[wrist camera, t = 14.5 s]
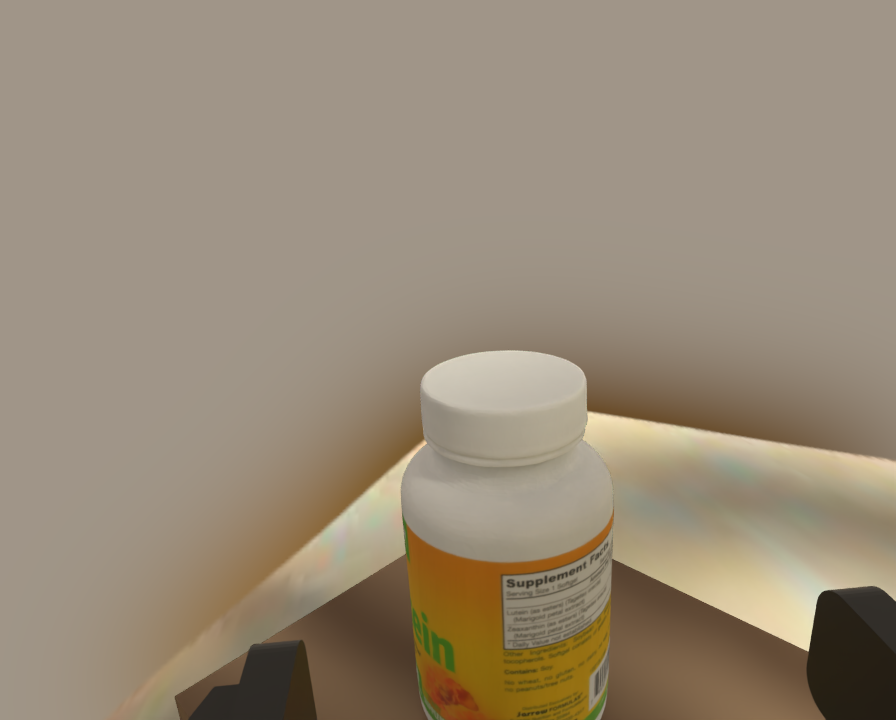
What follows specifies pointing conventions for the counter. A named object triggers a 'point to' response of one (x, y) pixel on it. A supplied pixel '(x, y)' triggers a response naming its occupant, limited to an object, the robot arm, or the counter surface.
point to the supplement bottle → (508, 542)
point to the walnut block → (630, 657)
